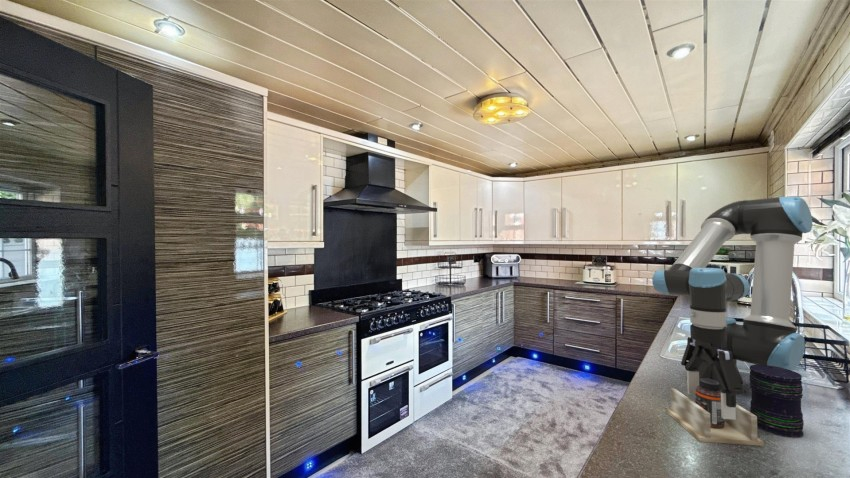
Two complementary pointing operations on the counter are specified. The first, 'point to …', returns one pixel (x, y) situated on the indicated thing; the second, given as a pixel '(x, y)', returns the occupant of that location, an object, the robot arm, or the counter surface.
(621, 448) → the counter surface
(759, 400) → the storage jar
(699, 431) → the docking cradle
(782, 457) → the counter surface
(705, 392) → the supplement bottle
